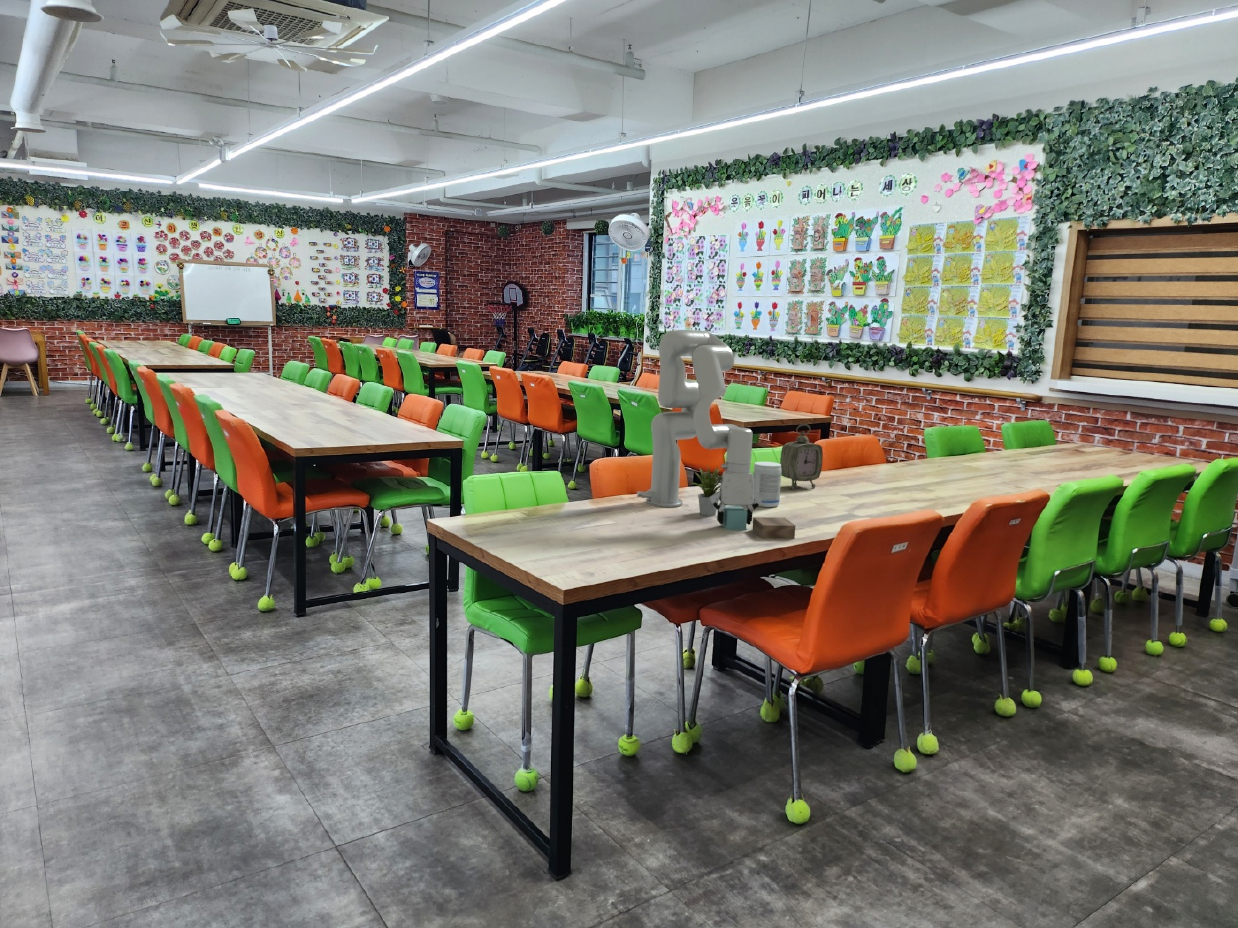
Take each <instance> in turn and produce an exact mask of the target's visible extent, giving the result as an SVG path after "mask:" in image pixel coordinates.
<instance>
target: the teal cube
mask: <svg viewBox="0 0 1238 928" xmlns="http://www.w3.org/2000/svg"><path fill="white" fill-rule="evenodd" d="M723 512H724V520H723V524H721V526H722V527H723V528H725V530H727V531H747V510H746V509H745V508H744V506H725V508H724V509H723Z"/></svg>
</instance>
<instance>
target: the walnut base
mask: <svg viewBox="0 0 1238 928" xmlns="http://www.w3.org/2000/svg"><path fill="white" fill-rule="evenodd" d="M751 530H752V531H753V532H754V533H755V534H756V535H757V536H759V537H760V538H761V539H765V538H794V539H795V536H796V525H795V524H794V523H793V522H791V521H790V520H788V519H787V518H786V517H777V516H776V517H774V516H773V517H770V516H768V517H765V516H764V517H763V516H760V517H758V516H755V517H753V516H752V529H751Z"/></svg>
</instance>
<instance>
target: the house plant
mask: <svg viewBox="0 0 1238 928" xmlns="http://www.w3.org/2000/svg"><path fill="white" fill-rule="evenodd" d="M699 471H700V474H698V473H697V472H695V471H693V473H695V474H696V476H697V478H698V479H699V480H700V482H701V483H696V482H691V483H690V485H694V486H697V487H699V488H700V489H701V490H702V491H703V493H699V494H698V495H697V496H698V497H697V498H698V506H699V514H700V515H701V514H702V516H706V517H712V516H713V517H714V516H716V514H717V512H718V510H717V509H716V508H715V507H714V506H713V504H712V503H711V501H710V499H709V497H710V496H712V495H713V494H715V493H717V492H718V491H720V482H721V479H722V475H723V473H722V475H719V472H720V471H721V468H720V469H718V466H716V467H715V469H714V471H713V472H712V474H711V471H710V467H709V465H707V470H705V471H704V470H703V469H702V468H701V467H699ZM715 501H716V503H717V504H718V505H719V503H720V500H719V497H718V498H716V499H715Z"/></svg>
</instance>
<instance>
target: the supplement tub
mask: <svg viewBox="0 0 1238 928" xmlns="http://www.w3.org/2000/svg"><path fill="white" fill-rule="evenodd" d="M753 464H754V465H753V480H754V493H756V494H757V495H758V496H760V497H761V498H762V499H763V500H762V502H761V503H760V504H759V506H758V507H760V508H761V507H763V508H775V507H778V506H779V505H780V497H781V484H782V482H781V481H782V474H781V464H780V462H773V461H755V462H754V463H753ZM755 501H756V498H755V497H754V502H755ZM754 502H753V503H754Z"/></svg>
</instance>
